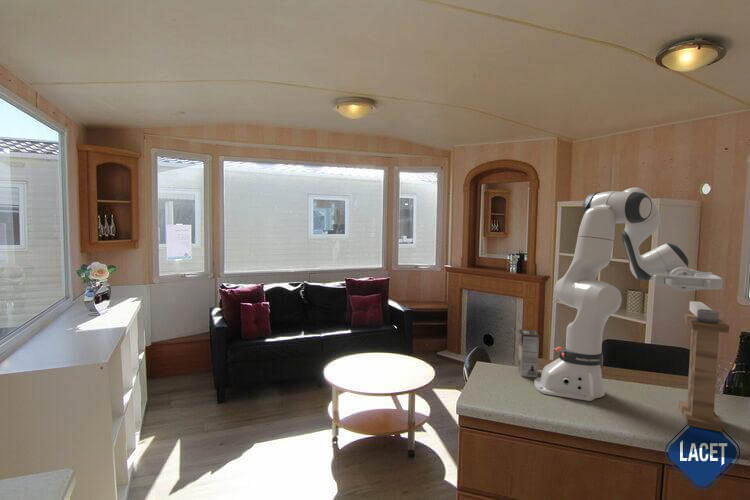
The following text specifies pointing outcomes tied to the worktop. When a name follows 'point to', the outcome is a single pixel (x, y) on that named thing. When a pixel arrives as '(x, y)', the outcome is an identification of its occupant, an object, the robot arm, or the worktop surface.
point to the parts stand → (702, 374)
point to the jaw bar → (704, 312)
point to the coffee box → (528, 353)
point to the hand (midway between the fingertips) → (689, 283)
